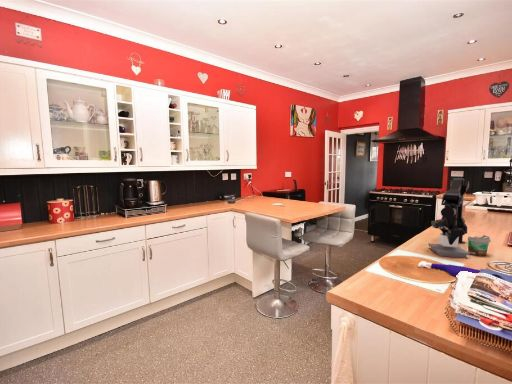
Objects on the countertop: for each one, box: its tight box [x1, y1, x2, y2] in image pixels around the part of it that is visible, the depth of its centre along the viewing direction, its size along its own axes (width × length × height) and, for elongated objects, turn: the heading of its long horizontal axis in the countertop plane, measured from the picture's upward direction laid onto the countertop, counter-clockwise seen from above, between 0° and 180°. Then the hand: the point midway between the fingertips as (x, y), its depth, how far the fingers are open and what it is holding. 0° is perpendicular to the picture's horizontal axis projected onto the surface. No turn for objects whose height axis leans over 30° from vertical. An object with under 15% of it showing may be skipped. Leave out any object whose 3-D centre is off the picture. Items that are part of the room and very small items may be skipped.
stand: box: [428, 242, 471, 259], centre depth 141 cm, size 14×14×3 cm
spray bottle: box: [417, 260, 481, 277], centre depth 116 cm, size 3×11×24 cm
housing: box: [438, 232, 459, 247], centre depth 140 cm, size 5×7×7 cm
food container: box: [467, 234, 492, 257], centre depth 138 cm, size 12×6×10 cm, turn 105°
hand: (448, 243), depth 141 cm, fingers closed on housing, 5 cm apart
